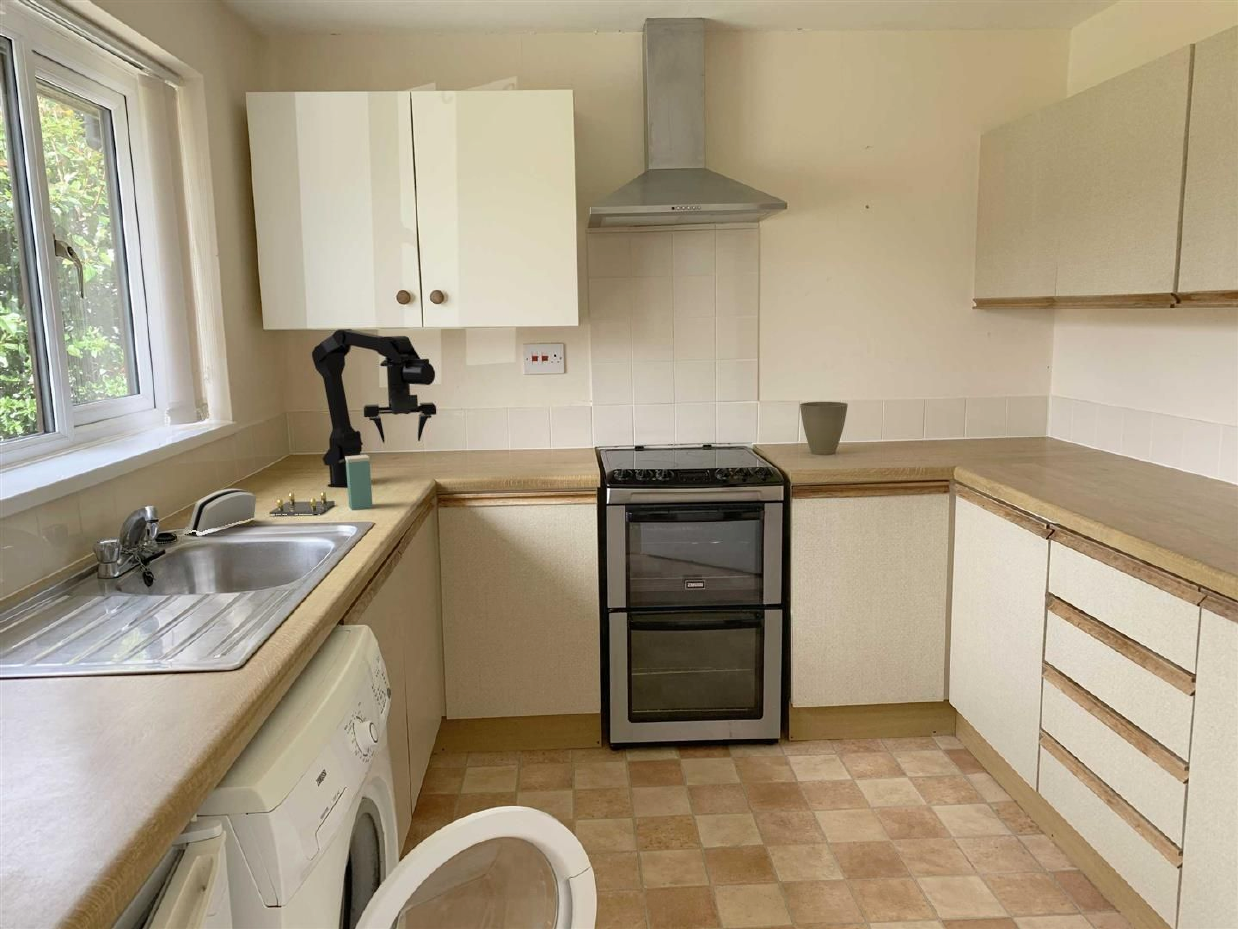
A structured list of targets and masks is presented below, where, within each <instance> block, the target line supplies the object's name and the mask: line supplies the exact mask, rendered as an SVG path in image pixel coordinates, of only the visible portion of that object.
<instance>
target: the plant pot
mask: <svg viewBox="0 0 1238 929" xmlns="http://www.w3.org/2000/svg"><path fill="white" fill-rule="evenodd" d="M848 406H849V405H848V403H847V402H841V401H809V402H801V403H800V404H799V407H800V408H799V410H800V414H801V421H802V426H803V430H804V433H805V437H806V441H807V444H808V447H809V449H810V453H811V454H813V455H819V456H828V455H834V454H836V451H837V449H838V446H839V443H840V441H841V438H842V434H843V430H844V427H845V423H846V418H847V411H848V410H847V409H848Z"/></svg>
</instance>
